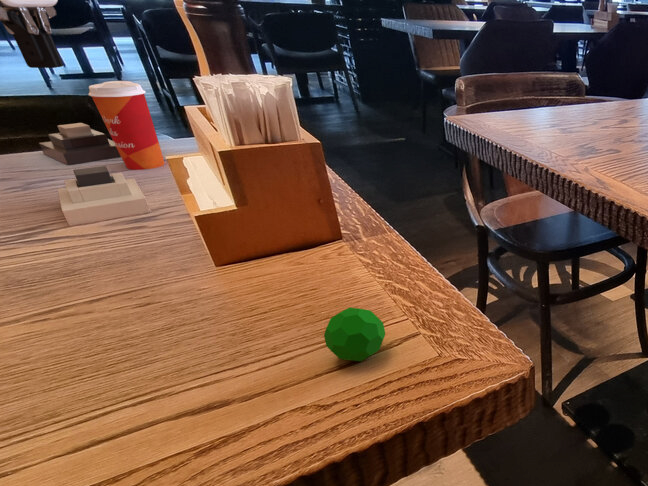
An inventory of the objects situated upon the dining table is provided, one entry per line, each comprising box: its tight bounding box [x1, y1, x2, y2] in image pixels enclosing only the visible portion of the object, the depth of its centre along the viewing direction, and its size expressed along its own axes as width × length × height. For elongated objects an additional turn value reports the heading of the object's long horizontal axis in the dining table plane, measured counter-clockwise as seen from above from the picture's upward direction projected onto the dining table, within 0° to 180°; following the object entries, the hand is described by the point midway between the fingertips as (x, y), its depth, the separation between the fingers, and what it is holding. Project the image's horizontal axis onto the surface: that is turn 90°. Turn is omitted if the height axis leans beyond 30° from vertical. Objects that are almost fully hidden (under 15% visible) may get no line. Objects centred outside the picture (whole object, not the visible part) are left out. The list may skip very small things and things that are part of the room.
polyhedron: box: [323, 307, 386, 362], centre depth 48 cm, size 5×5×5 cm
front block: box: [57, 172, 152, 227], centre depth 77 cm, size 12×9×4 cm
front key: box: [73, 165, 113, 187], centre depth 76 cm, size 4×4×2 cm
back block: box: [38, 128, 121, 167], centre depth 100 cm, size 12×9×4 cm
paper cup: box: [88, 82, 165, 171], centre depth 93 cm, size 8×8×14 cm
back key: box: [57, 122, 93, 138], centre depth 98 cm, size 4×4×2 cm
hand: (46, 66), depth 70 cm, fingers closed
